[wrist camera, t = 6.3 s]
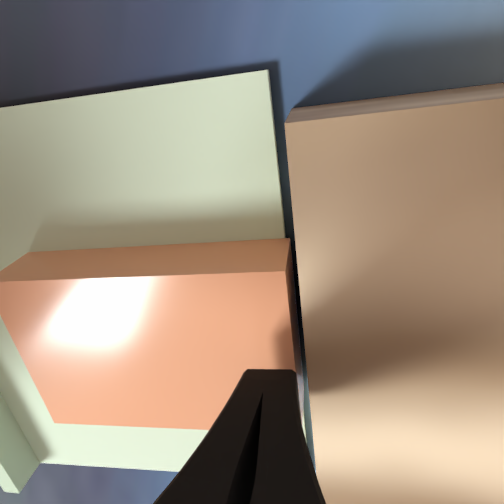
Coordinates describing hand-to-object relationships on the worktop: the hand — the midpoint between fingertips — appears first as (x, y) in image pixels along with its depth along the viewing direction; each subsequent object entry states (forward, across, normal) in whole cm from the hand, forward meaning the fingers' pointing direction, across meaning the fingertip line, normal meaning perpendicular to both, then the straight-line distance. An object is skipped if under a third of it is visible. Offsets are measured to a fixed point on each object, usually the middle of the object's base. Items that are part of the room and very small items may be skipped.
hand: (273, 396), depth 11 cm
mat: (+3, +7, 0) cm, 7 cm away
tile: (+3, +4, 0) cm, 5 cm away
